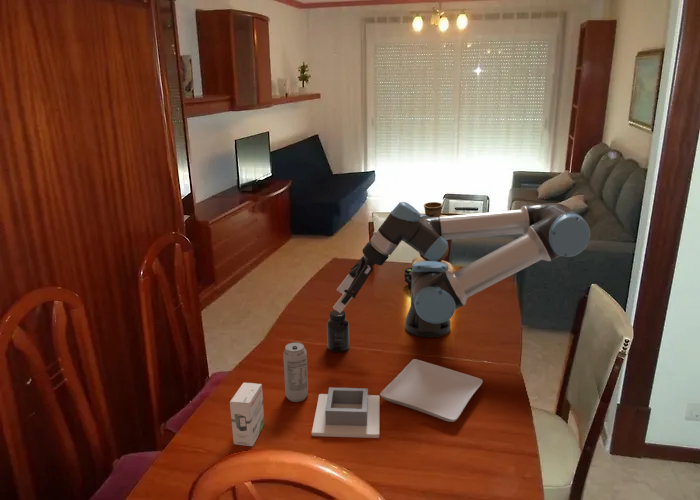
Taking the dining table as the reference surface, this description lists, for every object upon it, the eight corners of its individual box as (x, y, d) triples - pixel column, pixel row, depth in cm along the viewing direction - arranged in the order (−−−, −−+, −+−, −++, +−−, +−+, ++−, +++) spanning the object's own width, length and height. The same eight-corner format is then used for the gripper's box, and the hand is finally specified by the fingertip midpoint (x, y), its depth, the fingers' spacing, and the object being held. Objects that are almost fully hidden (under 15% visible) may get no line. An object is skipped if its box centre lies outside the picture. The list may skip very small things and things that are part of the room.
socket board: (379, 398, 141) (379, 382, 140) (379, 437, 126) (379, 420, 124) (319, 397, 142) (318, 380, 140) (311, 436, 127) (311, 418, 125)
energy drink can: (307, 389, 146) (305, 340, 141) (309, 401, 140) (307, 351, 135) (284, 391, 145) (282, 342, 140) (286, 404, 139) (283, 353, 134)
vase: (390, 289, 212) (392, 203, 201) (417, 273, 229) (419, 192, 218) (445, 303, 199) (449, 212, 188) (468, 284, 216) (474, 200, 205)
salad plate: (455, 431, 129) (455, 419, 127) (377, 404, 139) (377, 393, 138) (483, 389, 146) (484, 378, 144) (413, 368, 156) (413, 357, 155)
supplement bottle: (352, 345, 169) (352, 310, 165) (343, 355, 163) (343, 319, 159) (333, 340, 172) (332, 306, 168) (323, 350, 166) (322, 315, 162)
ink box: (246, 422, 132) (242, 380, 128) (265, 424, 131) (262, 382, 128) (232, 444, 124) (228, 401, 121) (253, 447, 123) (249, 403, 120)
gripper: (370, 229, 169) (332, 279, 175) (368, 254, 146) (324, 311, 152) (389, 242, 170) (350, 291, 177) (390, 270, 147) (345, 325, 153)
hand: (338, 300), depth 164 cm, fingers open, 13 cm apart
